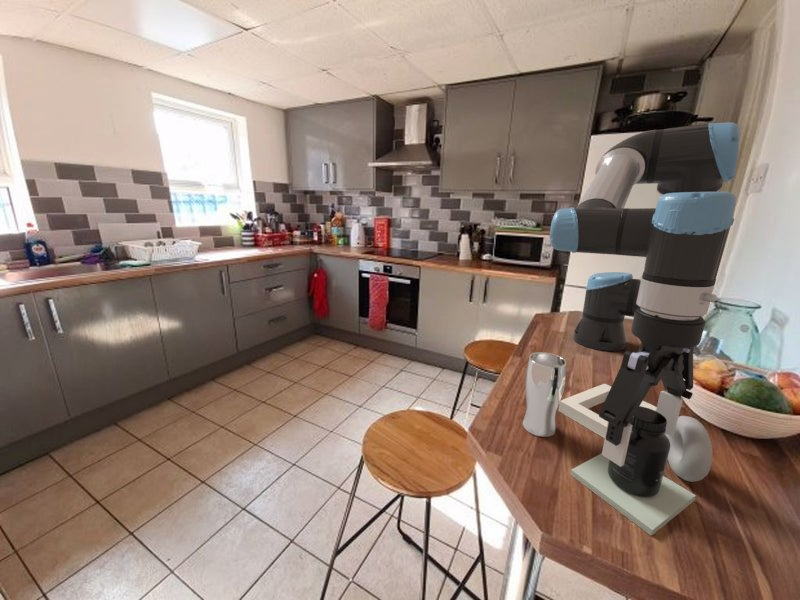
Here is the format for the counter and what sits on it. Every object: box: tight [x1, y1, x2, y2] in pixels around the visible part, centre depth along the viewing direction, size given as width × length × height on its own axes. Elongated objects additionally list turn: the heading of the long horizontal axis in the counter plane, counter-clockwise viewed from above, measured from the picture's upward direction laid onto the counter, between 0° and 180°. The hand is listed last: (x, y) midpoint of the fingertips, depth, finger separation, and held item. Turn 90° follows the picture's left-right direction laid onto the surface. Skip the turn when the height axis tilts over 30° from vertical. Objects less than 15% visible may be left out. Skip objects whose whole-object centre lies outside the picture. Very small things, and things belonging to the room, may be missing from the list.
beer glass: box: [522, 351, 567, 438], centre depth 65 cm, size 7×7×15 cm
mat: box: [570, 452, 697, 537], centre depth 52 cm, size 12×12×1 cm
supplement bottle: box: [608, 406, 670, 497], centre depth 51 cm, size 7×7×12 cm
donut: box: [666, 415, 713, 482], centre depth 54 cm, size 10×4×10 cm, turn 159°
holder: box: [557, 383, 666, 439], centre depth 68 cm, size 16×16×2 cm
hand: (639, 444), depth 50 cm, fingers open, 13 cm apart
